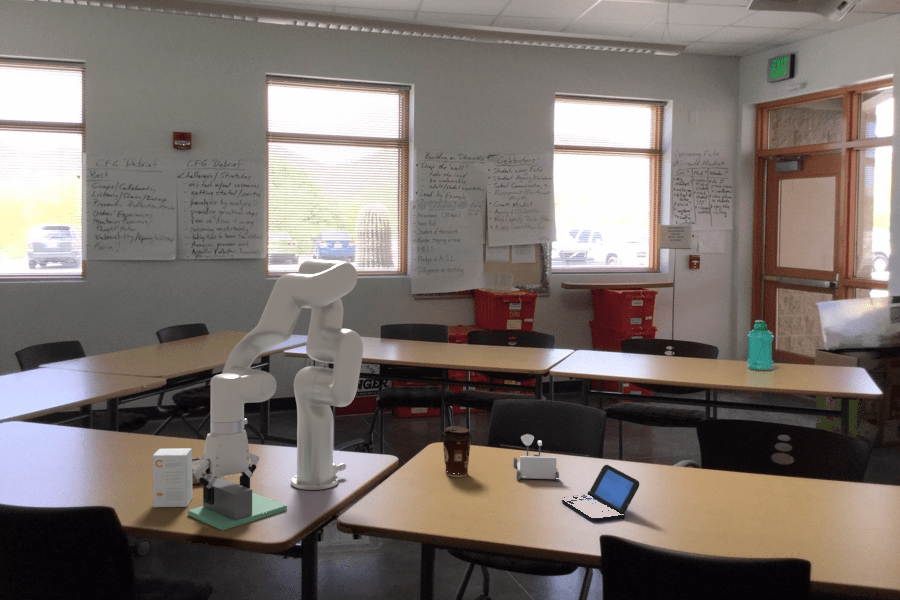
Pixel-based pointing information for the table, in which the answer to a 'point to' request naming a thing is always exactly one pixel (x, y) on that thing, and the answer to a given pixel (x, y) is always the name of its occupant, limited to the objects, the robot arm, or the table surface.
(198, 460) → the box
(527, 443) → the toy rover
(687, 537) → the table surface
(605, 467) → the laptop
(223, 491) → the block
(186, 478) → the small box
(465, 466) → the coffee cup
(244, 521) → the header board
